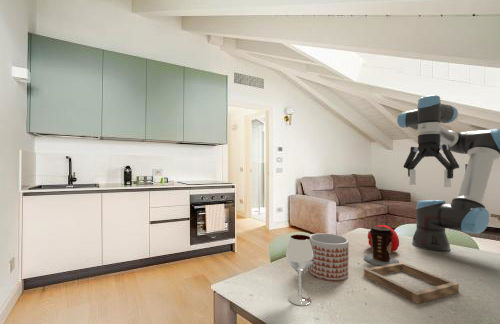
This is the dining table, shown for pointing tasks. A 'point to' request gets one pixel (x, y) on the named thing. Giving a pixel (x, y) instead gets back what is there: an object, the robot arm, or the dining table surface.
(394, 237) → the tomato
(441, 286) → the square wooden frame
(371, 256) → the flat grey disc
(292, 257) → the wineglass
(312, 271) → the planter
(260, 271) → the dining table surface
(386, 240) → the coffee cup
